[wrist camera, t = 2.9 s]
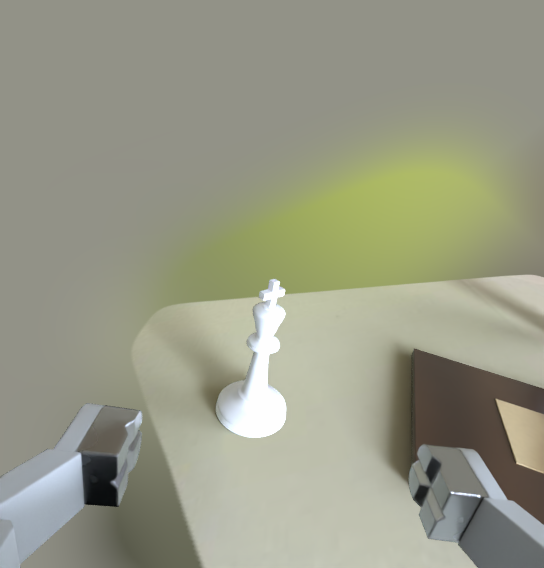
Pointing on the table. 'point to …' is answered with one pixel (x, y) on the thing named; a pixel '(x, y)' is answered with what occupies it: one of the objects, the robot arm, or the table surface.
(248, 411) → the chess piece
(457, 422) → the board
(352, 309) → the table surface
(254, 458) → the table surface
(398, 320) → the table surface
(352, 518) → the table surface
